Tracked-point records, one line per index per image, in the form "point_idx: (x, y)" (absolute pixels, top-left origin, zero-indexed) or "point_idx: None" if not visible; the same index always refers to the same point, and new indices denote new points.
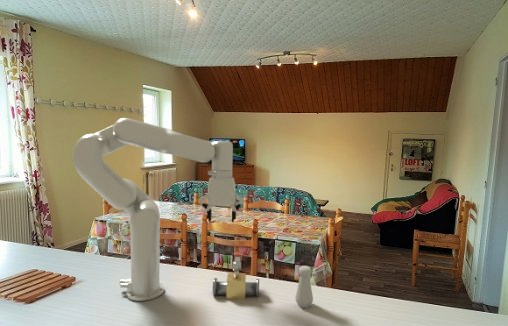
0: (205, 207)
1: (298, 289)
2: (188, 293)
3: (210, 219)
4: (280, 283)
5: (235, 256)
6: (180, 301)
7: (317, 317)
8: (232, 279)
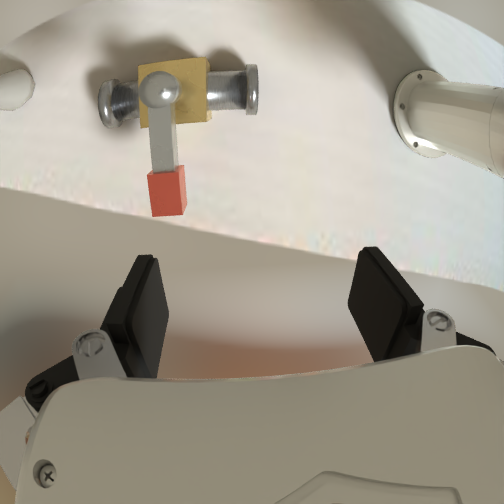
0: (459, 341)
1: (9, 80)
2: (329, 95)
3: (365, 263)
4: (71, 185)
5: (173, 166)
6: (341, 54)
7: (12, 52)
8: (184, 70)
